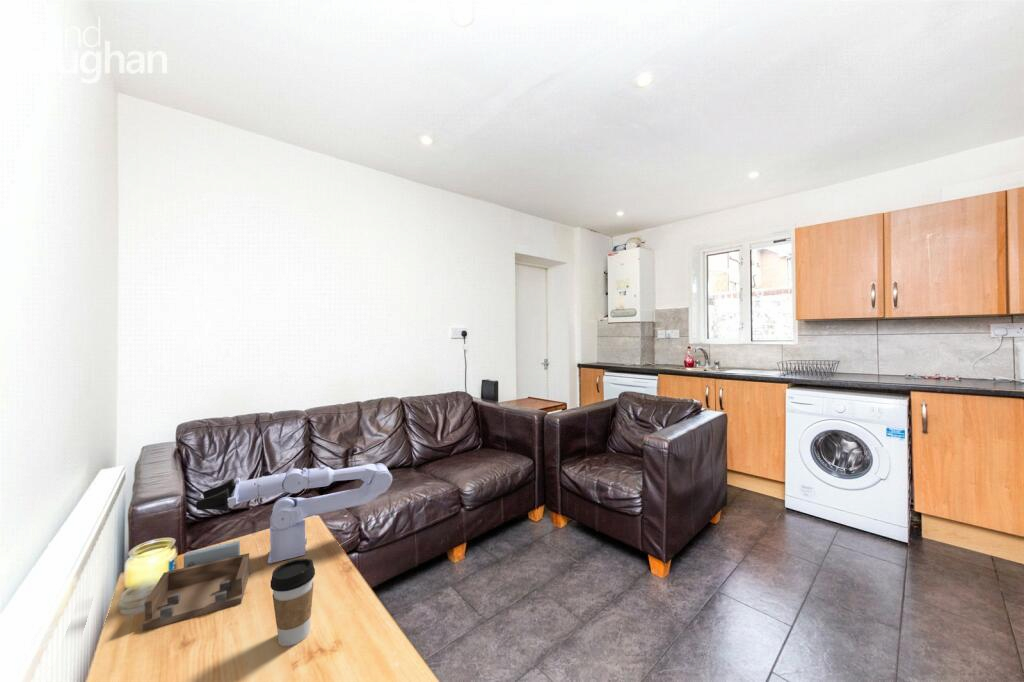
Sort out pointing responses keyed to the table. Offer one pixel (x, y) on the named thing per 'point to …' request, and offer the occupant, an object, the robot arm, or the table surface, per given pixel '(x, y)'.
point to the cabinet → (197, 591)
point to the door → (211, 554)
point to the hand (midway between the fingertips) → (200, 500)
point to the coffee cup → (293, 600)
